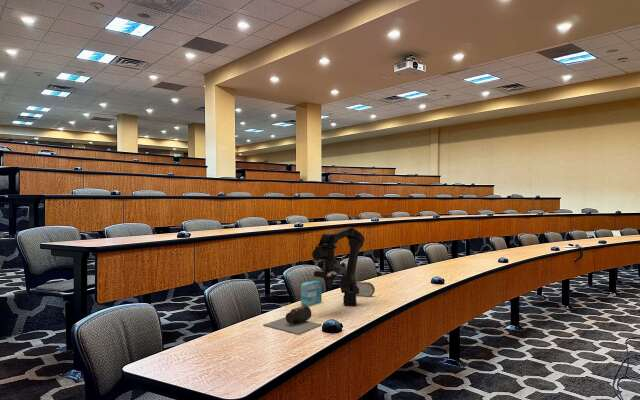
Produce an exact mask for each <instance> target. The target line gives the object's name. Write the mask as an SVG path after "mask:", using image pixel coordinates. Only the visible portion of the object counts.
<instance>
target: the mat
mask: <svg viewBox="0 0 640 400" xmlns="http://www.w3.org/2000/svg"><path fill="white" fill-rule="evenodd" d="M321 325H322V326H323V324H322V323H317V322H313V321H310V320H306V321H303V322H300V323H297V324H294V323H288V322H287V321H286V316H285V317H282V318H278V319H275V320H273V321H270V322H266V323H264V324H263V327H266V328H271V329H275V330H279V331H283V332H287V333H290V334H295V335H298V336H299V335H301V334H304V333H307V332H309V331H312V330H314V329H317V328H319V327H318V326H320V327H321ZM316 327H317V328H316ZM313 328H314V329H313ZM311 329H312V330H311Z"/></svg>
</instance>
